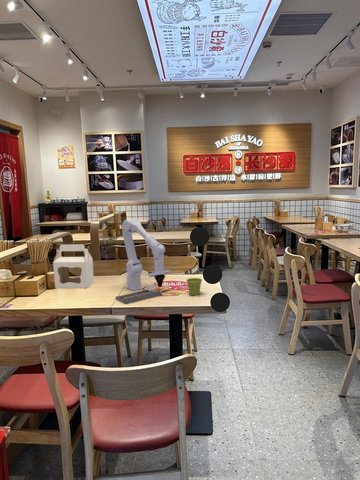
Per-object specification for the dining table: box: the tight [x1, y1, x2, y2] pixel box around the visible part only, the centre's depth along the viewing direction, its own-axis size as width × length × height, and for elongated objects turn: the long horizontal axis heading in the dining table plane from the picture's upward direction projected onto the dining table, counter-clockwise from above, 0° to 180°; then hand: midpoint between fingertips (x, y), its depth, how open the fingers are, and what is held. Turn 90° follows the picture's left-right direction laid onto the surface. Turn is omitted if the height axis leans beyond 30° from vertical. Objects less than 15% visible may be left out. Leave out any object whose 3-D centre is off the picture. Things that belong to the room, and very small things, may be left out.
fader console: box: [115, 289, 163, 305], centre depth 197 cm, size 12×24×2 cm, turn 127°
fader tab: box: [145, 281, 156, 292], centre depth 201 cm, size 4×3×5 cm
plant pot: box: [185, 277, 203, 296], centre depth 200 cm, size 9×9×9 cm
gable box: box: [52, 243, 95, 289], centre depth 225 cm, size 22×13×28 cm, turn 85°
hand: (159, 286), depth 205 cm, fingers closed
